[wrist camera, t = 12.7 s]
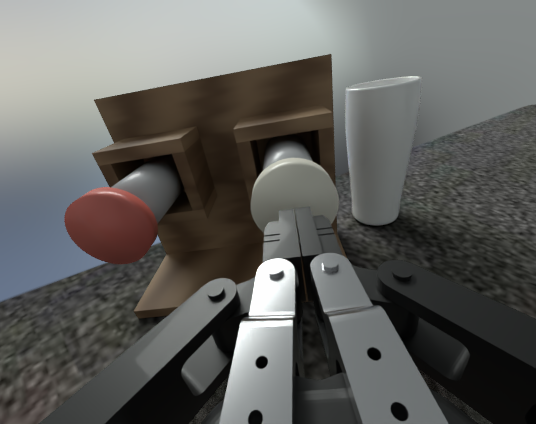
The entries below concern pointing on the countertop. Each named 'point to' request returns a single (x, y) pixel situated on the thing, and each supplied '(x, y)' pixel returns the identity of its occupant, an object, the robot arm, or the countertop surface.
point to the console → (216, 164)
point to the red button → (125, 212)
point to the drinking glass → (380, 144)
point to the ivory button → (291, 183)
